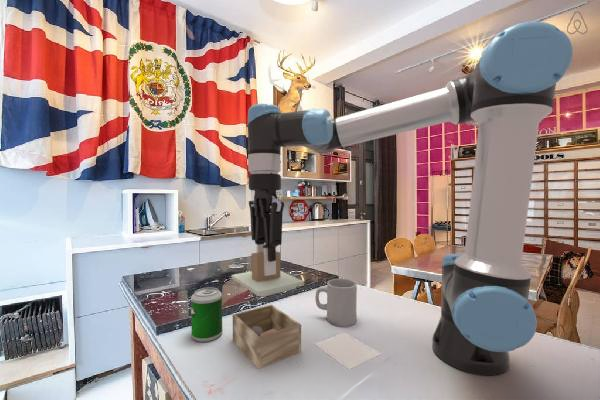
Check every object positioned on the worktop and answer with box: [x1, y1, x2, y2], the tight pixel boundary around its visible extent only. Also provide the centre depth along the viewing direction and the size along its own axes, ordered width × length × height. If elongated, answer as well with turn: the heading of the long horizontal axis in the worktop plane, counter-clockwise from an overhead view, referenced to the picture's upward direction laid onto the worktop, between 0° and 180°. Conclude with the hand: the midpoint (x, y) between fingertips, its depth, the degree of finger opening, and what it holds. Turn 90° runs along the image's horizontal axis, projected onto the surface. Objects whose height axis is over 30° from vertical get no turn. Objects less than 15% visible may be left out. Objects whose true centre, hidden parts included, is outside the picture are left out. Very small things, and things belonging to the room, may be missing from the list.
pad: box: [314, 332, 381, 370], centre depth 68 cm, size 12×10×1 cm
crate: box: [232, 304, 302, 369], centre depth 70 cm, size 14×11×7 cm
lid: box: [231, 250, 305, 298], centre depth 69 cm, size 15×12×8 cm
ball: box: [252, 326, 264, 336], centre depth 71 cm, size 4×4×4 cm
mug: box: [315, 278, 358, 328], centre depth 85 cm, size 12×8×11 cm
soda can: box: [190, 287, 223, 343], centre depth 74 cm, size 8×8×12 cm
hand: (266, 272), depth 69 cm, fingers closed on lid, 3 cm apart
